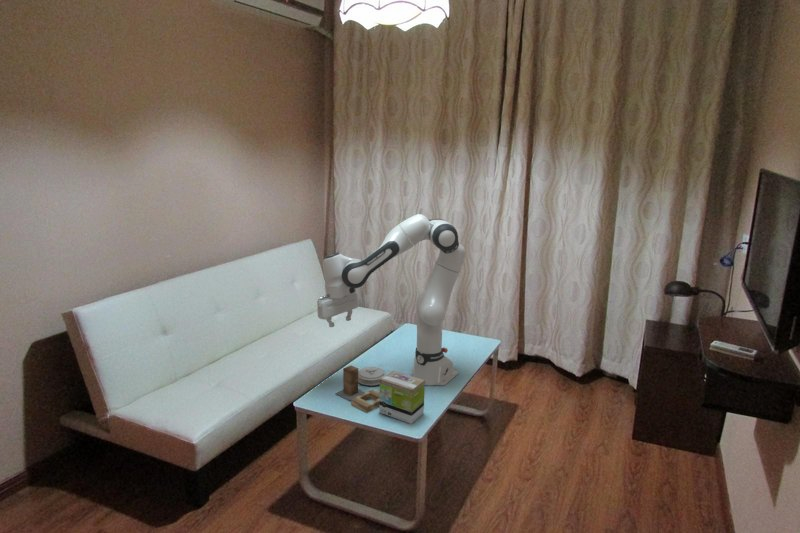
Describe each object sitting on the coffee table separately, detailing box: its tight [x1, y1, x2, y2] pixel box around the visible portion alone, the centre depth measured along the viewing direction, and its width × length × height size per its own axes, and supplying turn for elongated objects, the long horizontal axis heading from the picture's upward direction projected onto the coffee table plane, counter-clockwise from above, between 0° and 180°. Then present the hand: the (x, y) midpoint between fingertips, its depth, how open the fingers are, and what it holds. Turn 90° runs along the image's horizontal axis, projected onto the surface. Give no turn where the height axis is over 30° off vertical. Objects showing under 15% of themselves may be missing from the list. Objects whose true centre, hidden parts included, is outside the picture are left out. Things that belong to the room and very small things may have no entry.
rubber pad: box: [334, 388, 366, 402], centre depth 218 cm, size 9×9×1 cm
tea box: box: [378, 370, 426, 425], centre depth 201 cm, size 15×10×15 cm, turn 58°
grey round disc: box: [358, 366, 387, 386], centre depth 230 cm, size 13×13×5 cm
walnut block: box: [342, 365, 359, 396], centre depth 217 cm, size 4×4×11 cm
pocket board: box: [350, 389, 380, 414], centre depth 210 cm, size 12×9×2 cm
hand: (340, 323), depth 220 cm, fingers open, 8 cm apart
